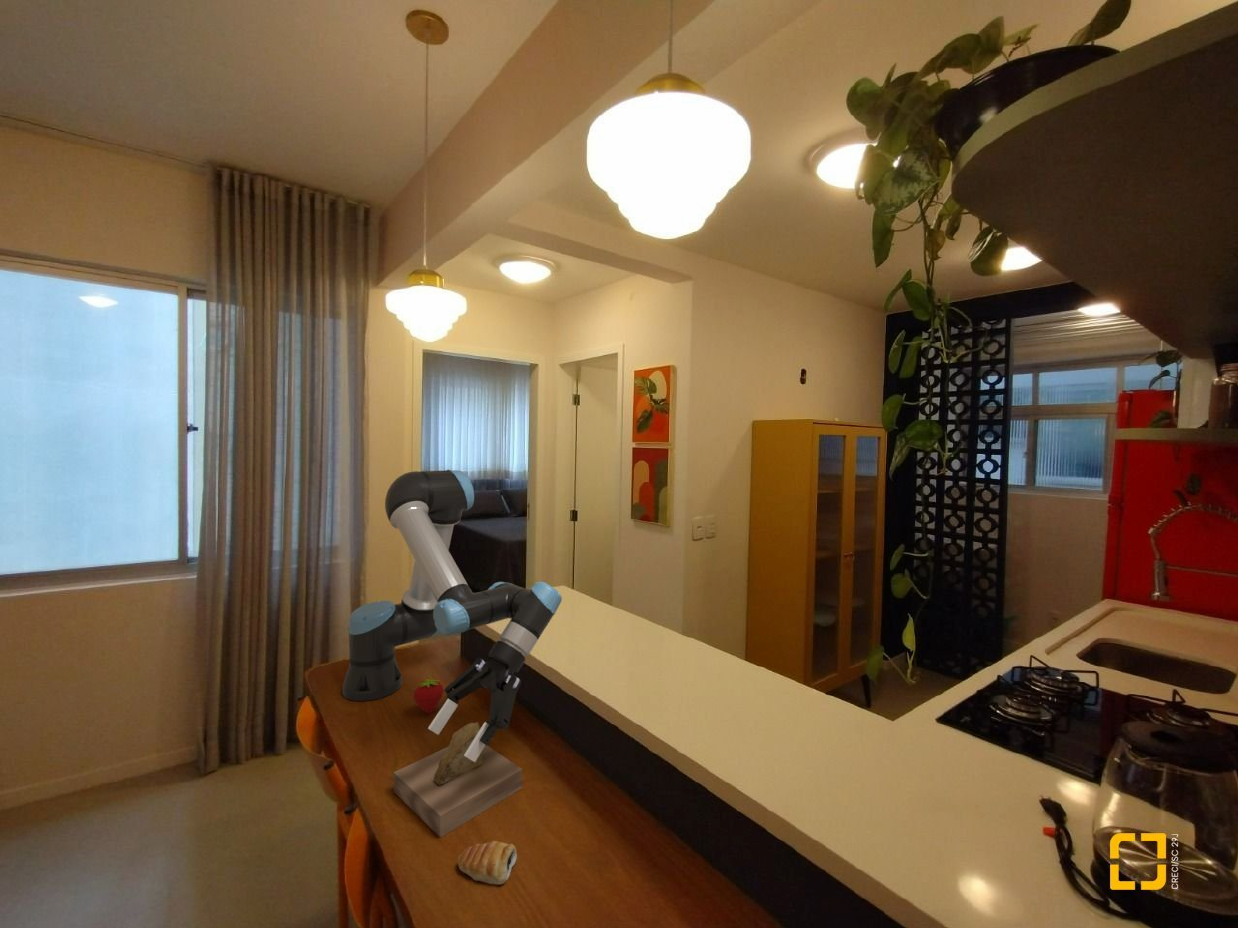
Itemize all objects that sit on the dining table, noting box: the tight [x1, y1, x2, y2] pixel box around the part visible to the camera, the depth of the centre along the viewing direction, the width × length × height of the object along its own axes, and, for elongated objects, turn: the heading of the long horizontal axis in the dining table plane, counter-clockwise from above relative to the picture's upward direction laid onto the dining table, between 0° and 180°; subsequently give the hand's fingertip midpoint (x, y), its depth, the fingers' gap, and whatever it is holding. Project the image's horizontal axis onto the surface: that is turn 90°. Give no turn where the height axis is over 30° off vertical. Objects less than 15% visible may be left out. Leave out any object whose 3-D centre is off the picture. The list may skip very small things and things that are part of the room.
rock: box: [434, 721, 482, 785], centre depth 106 cm, size 11×9×10 cm
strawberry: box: [413, 673, 445, 715], centre depth 135 cm, size 6×8×10 cm
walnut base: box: [393, 744, 523, 839], centre depth 106 cm, size 18×18×4 cm
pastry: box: [456, 840, 518, 886], centre depth 87 cm, size 9×7×4 cm
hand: (450, 744), depth 104 cm, fingers open, 13 cm apart
